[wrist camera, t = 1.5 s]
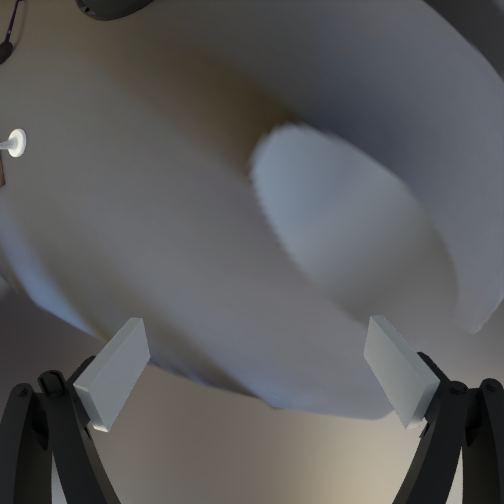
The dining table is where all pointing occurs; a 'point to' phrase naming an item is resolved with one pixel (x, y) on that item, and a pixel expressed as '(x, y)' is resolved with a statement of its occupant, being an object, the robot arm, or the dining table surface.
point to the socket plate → (1, 175)
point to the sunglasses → (7, 39)
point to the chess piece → (15, 143)
